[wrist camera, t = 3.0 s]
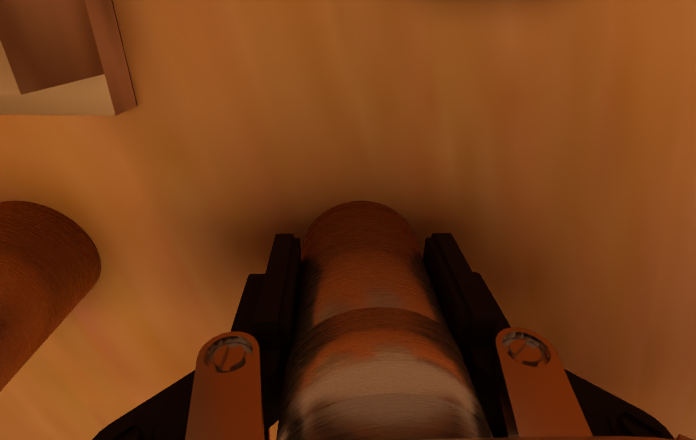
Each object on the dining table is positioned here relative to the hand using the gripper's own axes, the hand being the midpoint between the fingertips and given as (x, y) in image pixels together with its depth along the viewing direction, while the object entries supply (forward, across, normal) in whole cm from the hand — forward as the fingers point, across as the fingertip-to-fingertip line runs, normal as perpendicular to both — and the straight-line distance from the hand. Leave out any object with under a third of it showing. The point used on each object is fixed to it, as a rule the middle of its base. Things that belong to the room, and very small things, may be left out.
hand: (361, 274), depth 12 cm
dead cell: (+1, 0, 0) cm, 1 cm away
